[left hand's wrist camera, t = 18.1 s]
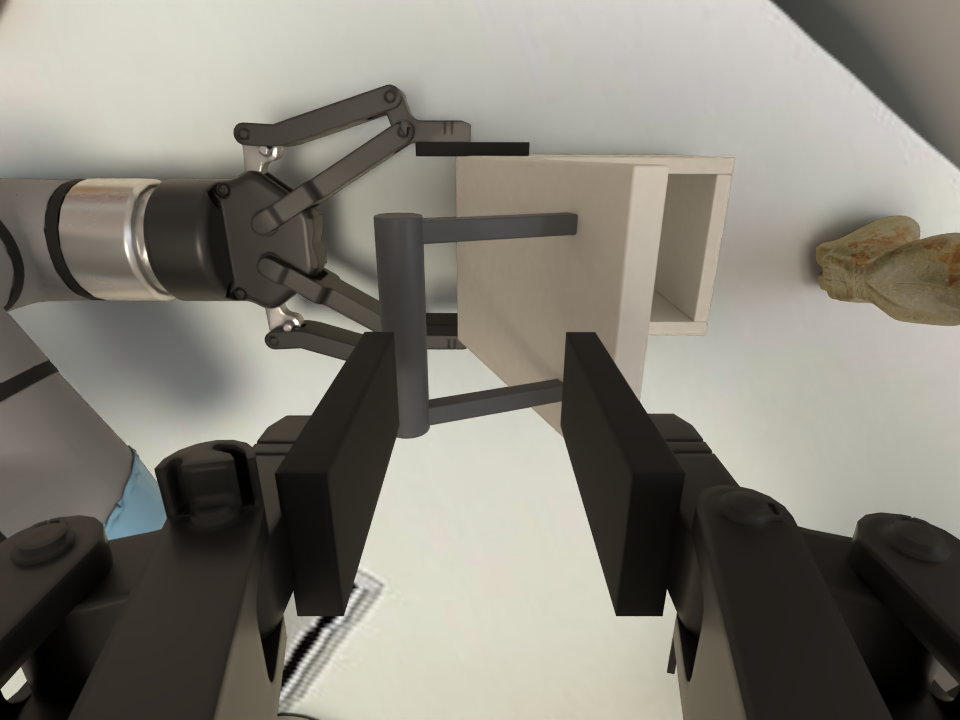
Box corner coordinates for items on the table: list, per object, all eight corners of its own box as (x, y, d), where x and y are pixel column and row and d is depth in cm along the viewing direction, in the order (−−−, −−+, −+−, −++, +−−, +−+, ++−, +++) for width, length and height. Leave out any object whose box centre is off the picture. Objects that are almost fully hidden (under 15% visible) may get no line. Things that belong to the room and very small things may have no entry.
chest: (676, 155, 38) (735, 157, 29) (657, 295, 42) (705, 335, 33) (469, 154, 38) (466, 156, 29) (470, 294, 42) (467, 334, 33)
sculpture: (901, 276, 41) (1117, 342, 27) (805, 303, 42) (968, 380, 28) (900, 201, 39) (1133, 230, 25) (799, 230, 40) (971, 274, 26)
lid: (670, 165, 16) (395, 167, 13) (632, 467, 19) (413, 520, 17) (477, 156, 29) (321, 156, 26) (477, 337, 33) (340, 354, 30)
